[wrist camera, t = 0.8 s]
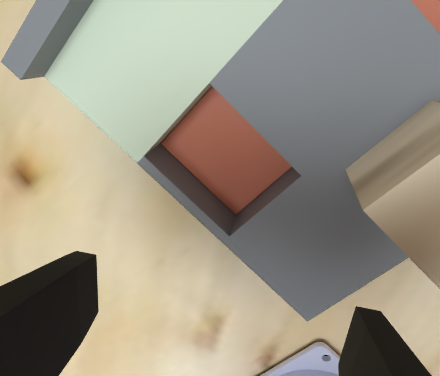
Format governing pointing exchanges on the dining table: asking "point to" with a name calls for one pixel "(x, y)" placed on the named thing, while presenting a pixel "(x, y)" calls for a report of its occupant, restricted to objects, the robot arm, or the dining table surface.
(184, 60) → the trap board
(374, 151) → the beech block
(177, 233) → the dining table surface
